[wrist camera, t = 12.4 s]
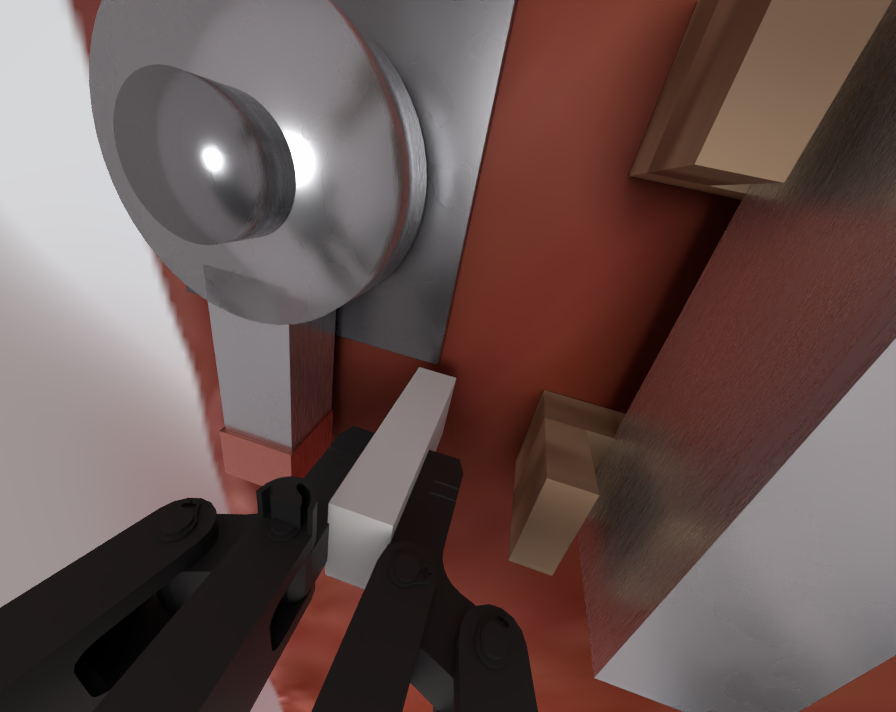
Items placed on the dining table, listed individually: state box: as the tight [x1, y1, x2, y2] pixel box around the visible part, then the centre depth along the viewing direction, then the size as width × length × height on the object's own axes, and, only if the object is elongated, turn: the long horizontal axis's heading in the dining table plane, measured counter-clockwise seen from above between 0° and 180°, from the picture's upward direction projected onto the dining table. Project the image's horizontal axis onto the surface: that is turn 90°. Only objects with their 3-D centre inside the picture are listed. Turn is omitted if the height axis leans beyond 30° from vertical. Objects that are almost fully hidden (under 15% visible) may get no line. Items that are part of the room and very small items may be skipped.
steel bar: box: [577, 0, 896, 712], centre depth 7 cm, size 17×4×6 cm, turn 168°
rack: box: [508, 0, 892, 576], centre depth 10 cm, size 16×9×5 cm, turn 168°
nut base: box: [186, 0, 518, 365], centre depth 12 cm, size 12×12×1 cm
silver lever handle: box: [89, 0, 427, 486], centre depth 12 cm, size 17×9×5 cm, turn 168°
